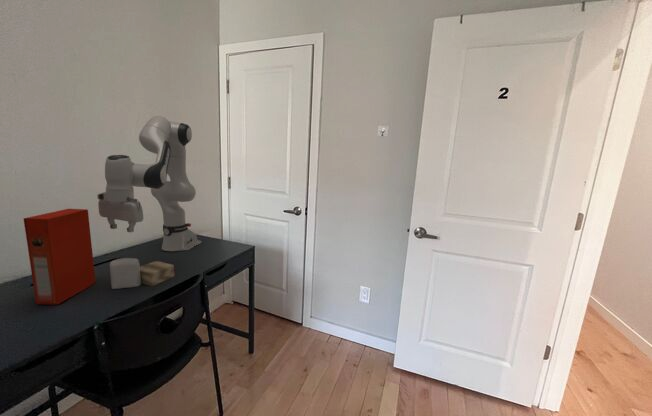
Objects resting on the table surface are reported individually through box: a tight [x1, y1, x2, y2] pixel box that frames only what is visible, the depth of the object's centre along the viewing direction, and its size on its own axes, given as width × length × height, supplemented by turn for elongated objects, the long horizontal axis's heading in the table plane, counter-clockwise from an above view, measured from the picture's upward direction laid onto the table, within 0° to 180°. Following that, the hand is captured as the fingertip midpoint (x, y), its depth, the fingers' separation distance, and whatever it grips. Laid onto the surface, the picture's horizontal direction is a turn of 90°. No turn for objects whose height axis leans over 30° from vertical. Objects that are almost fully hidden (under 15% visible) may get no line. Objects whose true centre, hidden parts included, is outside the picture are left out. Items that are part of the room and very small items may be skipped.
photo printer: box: [109, 257, 142, 290], centre depth 116 cm, size 10×4×12 cm, turn 112°
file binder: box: [23, 208, 96, 306], centre depth 106 cm, size 8×17×32 cm, turn 2°
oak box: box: [140, 260, 175, 287], centre depth 125 cm, size 11×11×6 cm
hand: (121, 230), depth 113 cm, fingers open, 8 cm apart
